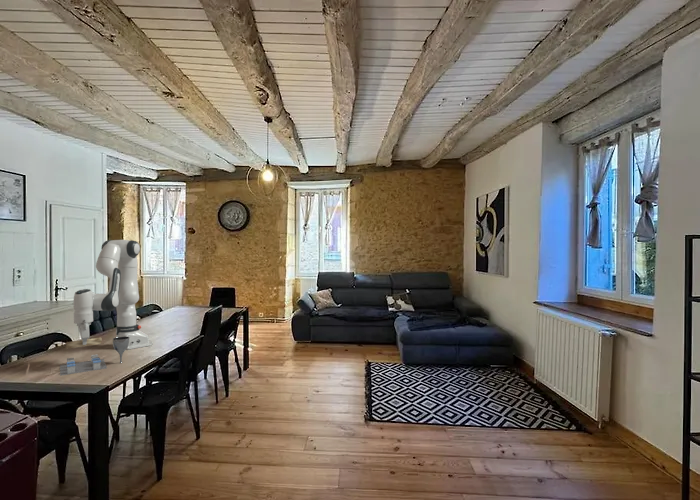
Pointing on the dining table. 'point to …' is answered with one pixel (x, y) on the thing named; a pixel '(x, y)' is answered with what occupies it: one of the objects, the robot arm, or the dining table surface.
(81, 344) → the bar
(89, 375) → the dining table surface
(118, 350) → the grey funnel
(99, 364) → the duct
